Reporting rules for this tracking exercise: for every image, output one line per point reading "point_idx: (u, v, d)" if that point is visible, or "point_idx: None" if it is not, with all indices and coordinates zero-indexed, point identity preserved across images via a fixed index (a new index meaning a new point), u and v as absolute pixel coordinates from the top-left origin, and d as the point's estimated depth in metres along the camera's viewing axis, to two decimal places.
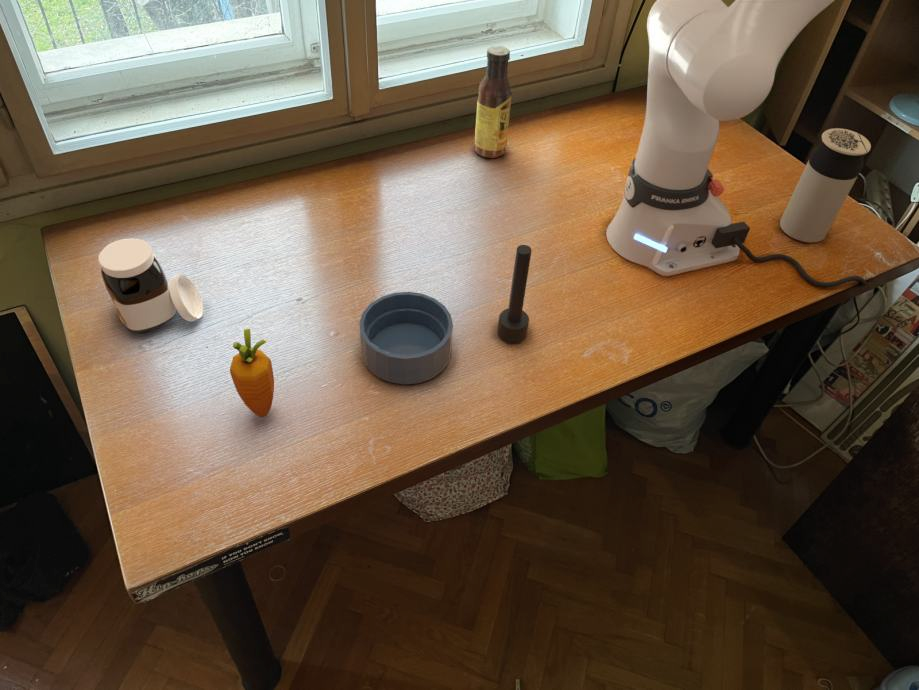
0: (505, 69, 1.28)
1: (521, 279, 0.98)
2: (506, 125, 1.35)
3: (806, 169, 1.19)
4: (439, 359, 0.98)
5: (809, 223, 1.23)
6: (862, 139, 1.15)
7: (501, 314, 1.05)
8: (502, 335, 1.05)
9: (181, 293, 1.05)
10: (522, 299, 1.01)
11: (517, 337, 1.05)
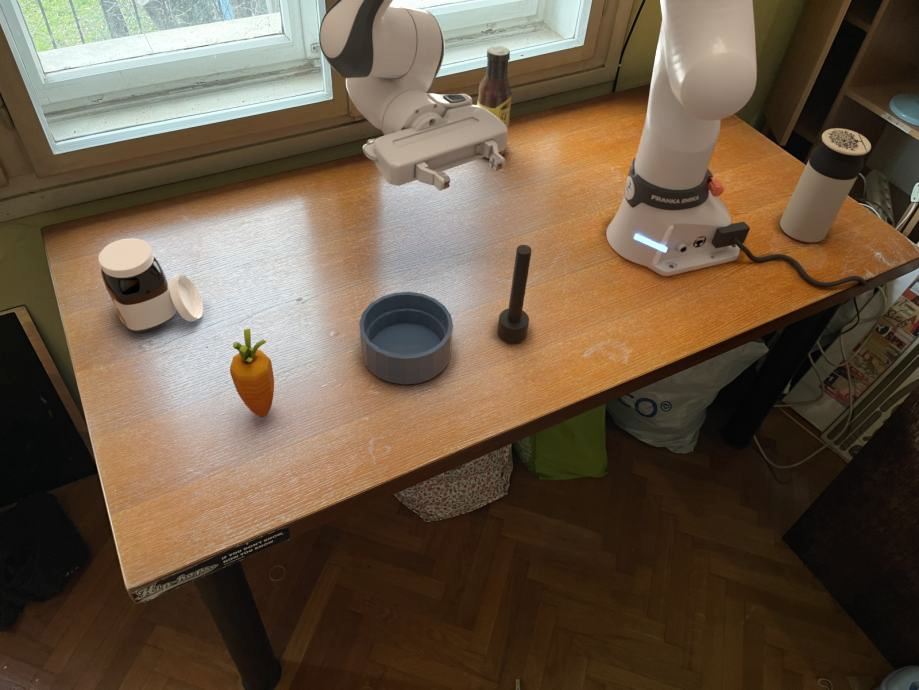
0: (505, 69, 1.28)
1: (521, 279, 0.98)
2: (506, 125, 1.35)
3: (806, 169, 1.19)
4: (439, 359, 0.98)
5: (809, 223, 1.23)
6: (862, 139, 1.15)
7: (501, 314, 1.05)
8: (502, 335, 1.05)
9: (181, 293, 1.05)
10: (522, 299, 1.01)
11: (517, 337, 1.05)
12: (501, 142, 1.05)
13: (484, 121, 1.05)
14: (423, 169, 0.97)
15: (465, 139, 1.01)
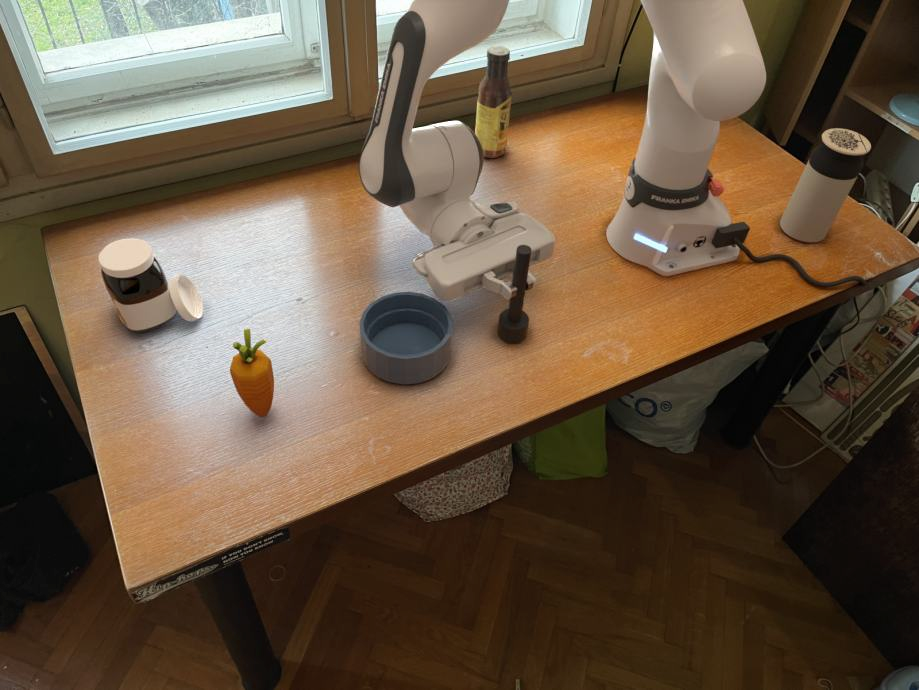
0: (505, 69, 1.28)
1: (521, 279, 0.98)
2: (506, 125, 1.35)
3: (806, 169, 1.19)
4: (439, 359, 0.98)
5: (809, 223, 1.23)
6: (862, 139, 1.15)
7: (501, 314, 1.05)
8: (502, 335, 1.05)
9: (181, 293, 1.05)
10: (522, 299, 1.01)
11: (517, 337, 1.05)
12: (548, 251, 1.06)
13: (531, 231, 1.06)
14: (491, 279, 1.00)
15: (513, 252, 1.02)
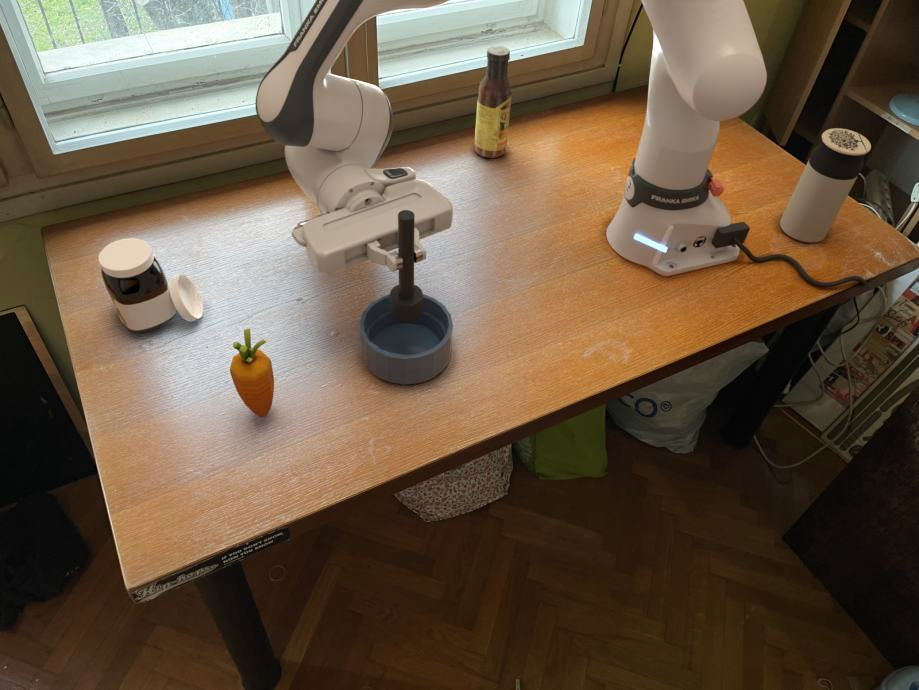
0: (505, 69, 1.28)
1: (406, 248, 0.88)
2: (506, 125, 1.35)
3: (806, 169, 1.19)
4: (439, 359, 0.98)
5: (809, 223, 1.23)
6: (862, 139, 1.15)
7: (392, 290, 0.96)
8: (394, 313, 0.96)
9: (181, 293, 1.05)
10: (411, 272, 0.92)
11: (409, 315, 0.95)
12: (445, 220, 0.96)
13: (427, 198, 0.96)
14: (374, 249, 0.90)
15: None
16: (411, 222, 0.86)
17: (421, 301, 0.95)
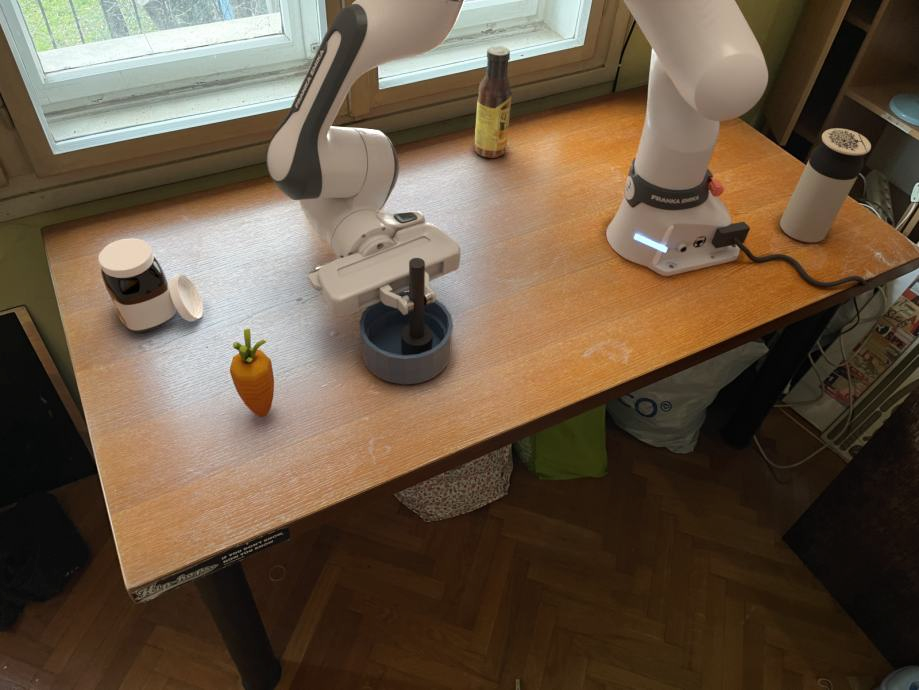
0: (505, 69, 1.28)
1: (417, 293, 0.93)
2: (506, 125, 1.35)
3: (806, 169, 1.19)
4: (439, 359, 0.98)
5: (809, 223, 1.23)
6: (862, 139, 1.15)
7: (404, 329, 1.00)
8: (405, 352, 1.01)
9: (181, 293, 1.05)
10: (421, 314, 0.96)
11: None
12: (453, 263, 1.01)
13: (436, 241, 1.01)
14: (387, 293, 0.95)
15: None
16: (422, 269, 0.90)
17: (431, 340, 1.00)
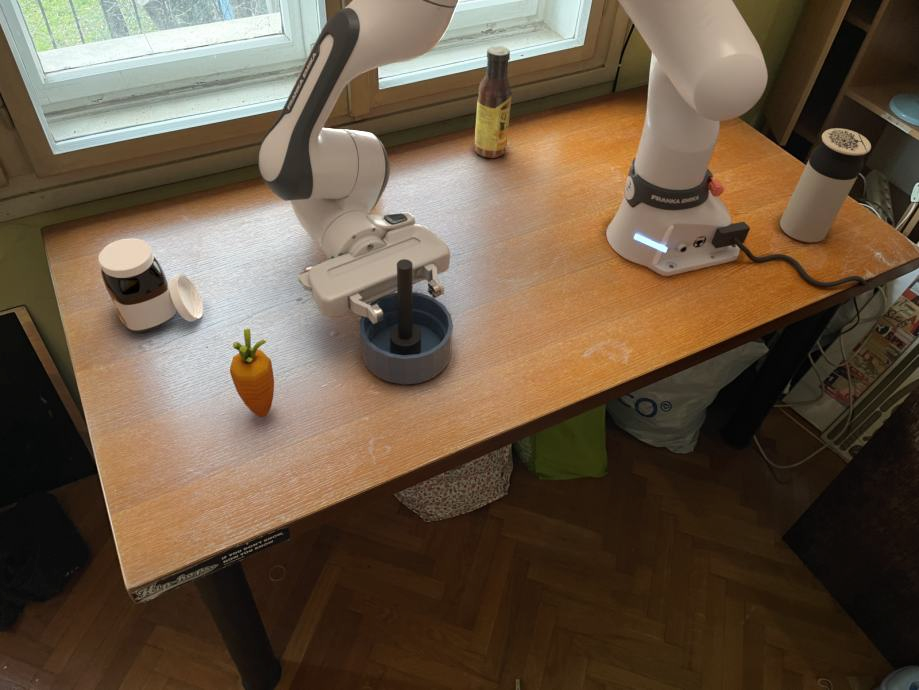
0: (505, 69, 1.28)
1: (404, 294, 0.94)
2: (506, 125, 1.35)
3: (806, 169, 1.19)
4: (439, 359, 0.98)
5: (809, 223, 1.23)
6: (862, 139, 1.15)
7: (392, 330, 1.01)
8: (394, 352, 1.01)
9: (181, 293, 1.05)
10: (409, 315, 0.97)
11: (408, 354, 1.01)
12: (443, 263, 1.02)
13: (426, 243, 1.02)
14: (356, 302, 0.94)
15: None
16: (409, 271, 0.91)
17: (419, 341, 1.01)
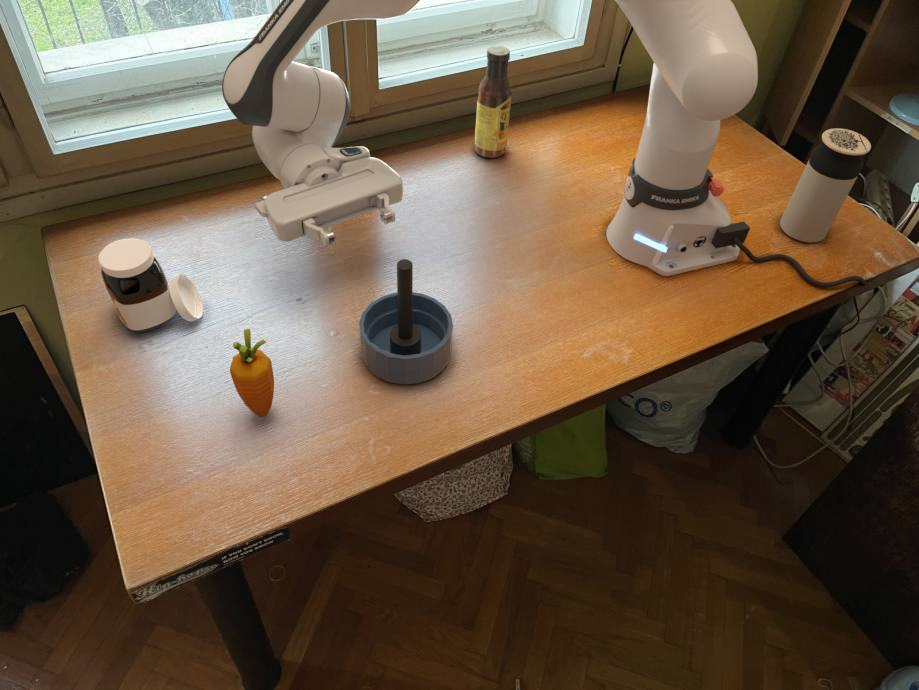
0: (505, 69, 1.28)
1: (404, 294, 0.94)
2: (506, 125, 1.35)
3: (806, 169, 1.19)
4: (439, 359, 0.98)
5: (809, 223, 1.23)
6: (862, 139, 1.15)
7: (392, 330, 1.01)
8: (394, 352, 1.01)
9: (181, 293, 1.05)
10: (409, 315, 0.97)
11: (408, 354, 1.01)
12: (396, 194, 1.06)
13: (379, 174, 1.06)
14: (309, 226, 0.98)
15: (355, 194, 1.02)
16: (409, 271, 0.91)
17: (419, 341, 1.01)
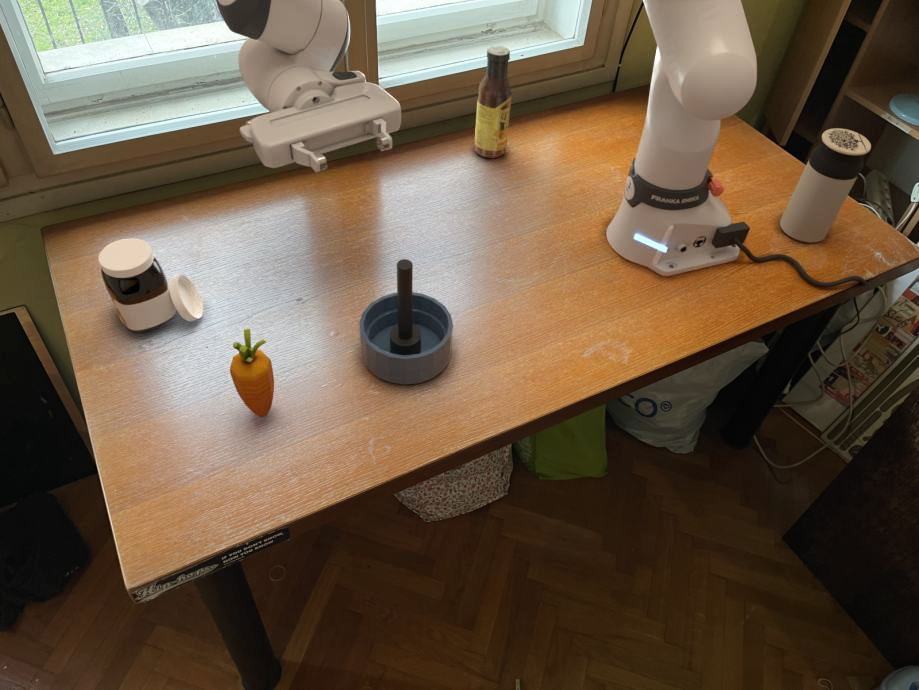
0: (505, 69, 1.28)
1: (404, 294, 0.94)
2: (506, 125, 1.35)
3: (806, 169, 1.19)
4: (439, 359, 0.98)
5: (809, 223, 1.23)
6: (862, 139, 1.15)
7: (392, 330, 1.01)
8: (394, 352, 1.01)
9: (181, 293, 1.05)
10: (409, 315, 0.97)
11: (408, 354, 1.01)
12: (393, 121, 0.97)
13: (376, 99, 0.97)
14: (298, 149, 0.90)
15: (349, 118, 0.94)
16: (409, 271, 0.91)
17: (419, 341, 1.01)
